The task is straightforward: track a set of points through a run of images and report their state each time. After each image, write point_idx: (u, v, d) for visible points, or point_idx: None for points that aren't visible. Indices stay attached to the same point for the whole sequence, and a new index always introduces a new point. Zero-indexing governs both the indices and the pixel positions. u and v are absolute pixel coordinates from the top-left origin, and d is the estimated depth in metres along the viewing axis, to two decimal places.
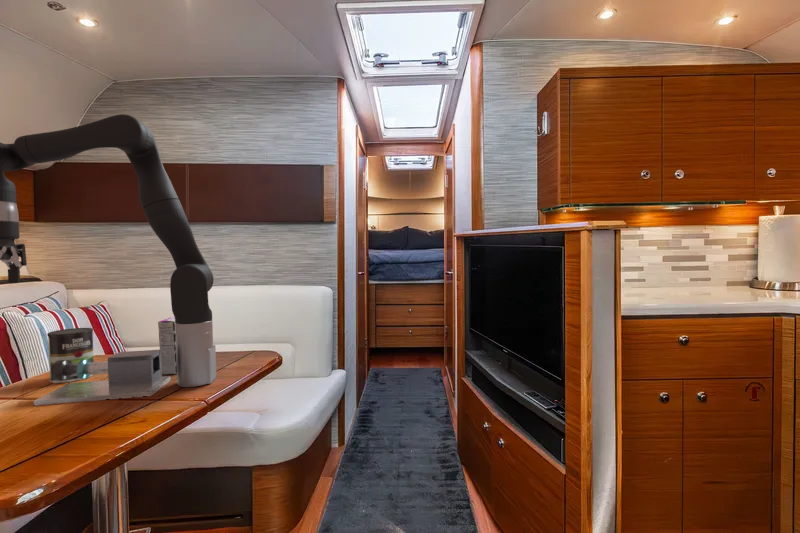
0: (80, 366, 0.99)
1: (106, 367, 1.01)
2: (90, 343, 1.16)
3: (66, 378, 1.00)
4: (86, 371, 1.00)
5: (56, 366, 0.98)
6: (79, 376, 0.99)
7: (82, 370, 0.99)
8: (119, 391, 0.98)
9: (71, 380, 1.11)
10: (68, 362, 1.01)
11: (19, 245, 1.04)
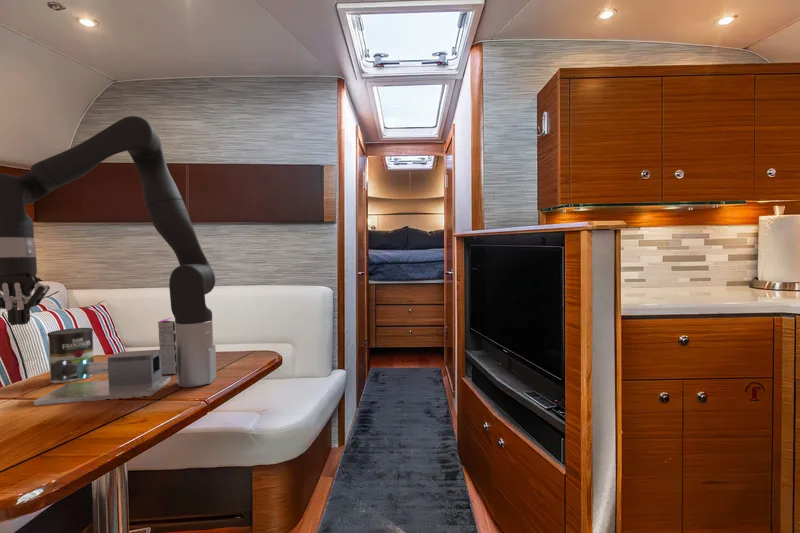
0: (80, 366, 0.99)
1: (106, 367, 1.01)
2: (90, 343, 1.16)
3: (66, 378, 1.00)
4: (86, 371, 1.00)
5: (56, 366, 0.98)
6: (79, 376, 0.99)
7: (82, 370, 0.99)
8: (119, 391, 0.98)
9: (71, 380, 1.11)
10: (68, 362, 1.01)
11: None
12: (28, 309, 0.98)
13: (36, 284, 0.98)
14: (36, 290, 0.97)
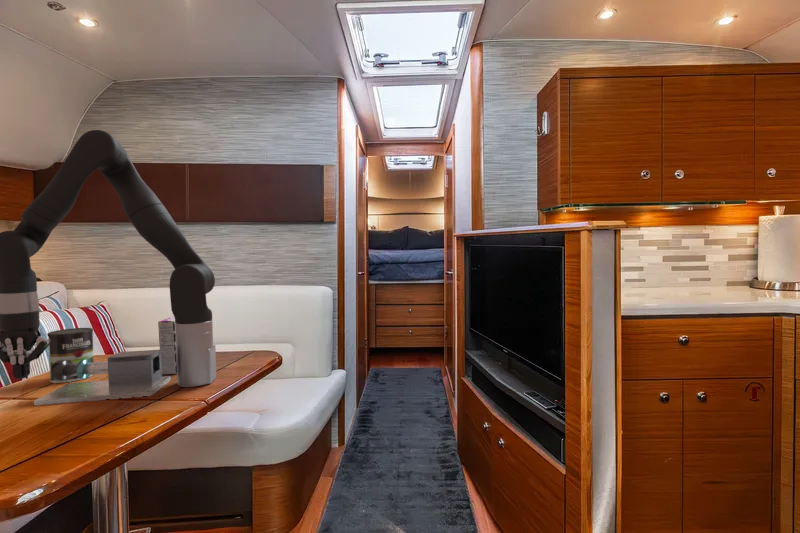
0: (80, 366, 0.99)
1: (106, 367, 1.01)
2: (90, 343, 1.16)
3: (66, 378, 1.00)
4: (86, 371, 1.00)
5: (56, 366, 0.98)
6: (79, 376, 0.99)
7: (82, 370, 0.99)
8: (119, 391, 0.98)
9: (71, 380, 1.11)
10: (68, 362, 1.01)
11: None
12: (28, 363, 0.99)
13: (38, 338, 0.98)
14: (38, 345, 0.98)
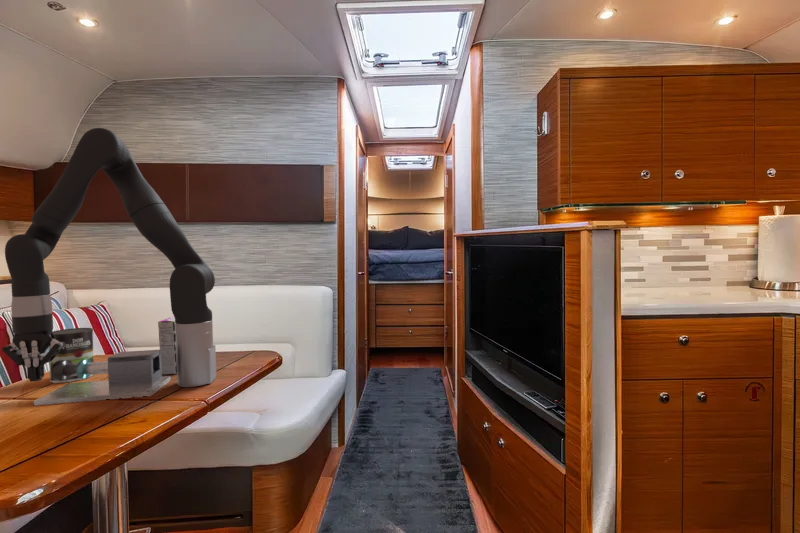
0: (80, 366, 0.99)
1: (106, 367, 1.01)
2: (90, 343, 1.16)
3: (66, 378, 1.00)
4: (86, 371, 1.00)
5: (56, 366, 0.98)
6: (79, 376, 0.99)
7: (82, 370, 0.99)
8: (119, 391, 0.98)
9: (71, 380, 1.11)
10: (68, 362, 1.01)
11: None
12: (42, 365, 0.99)
13: (52, 341, 0.99)
14: (52, 347, 0.98)
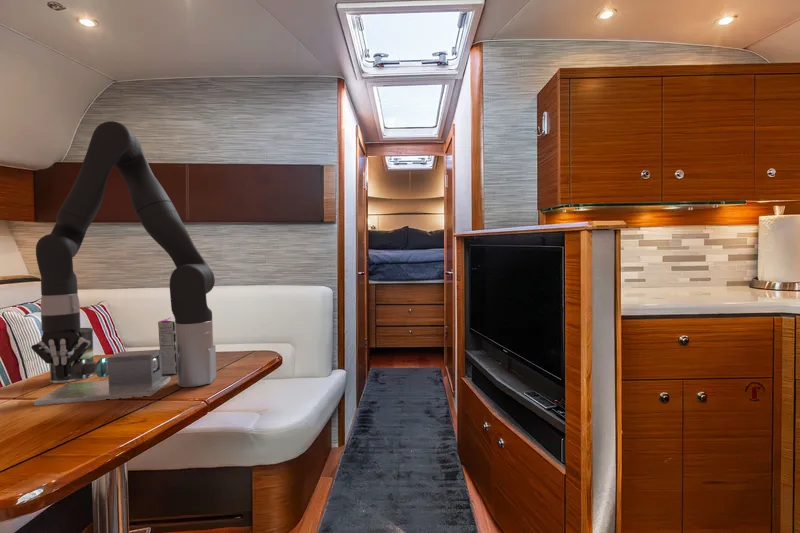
0: (99, 365, 1.00)
1: None
2: None
3: (85, 377, 1.01)
4: (105, 369, 1.00)
5: (76, 365, 0.99)
6: (98, 375, 1.00)
7: (101, 369, 1.00)
8: (119, 391, 0.98)
9: (71, 380, 1.11)
10: (87, 361, 1.02)
11: None
12: (70, 363, 1.00)
13: (80, 339, 1.00)
14: (80, 346, 1.00)
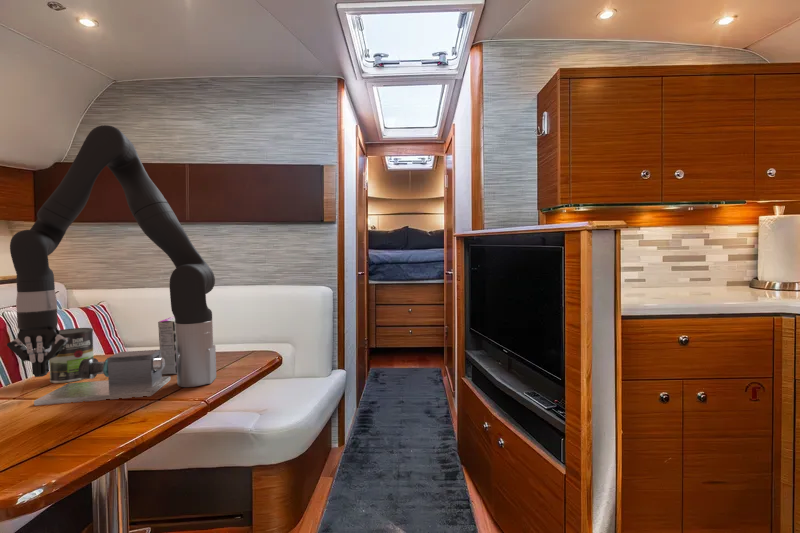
0: (107, 364, 1.00)
1: None
2: (90, 343, 1.16)
3: (92, 376, 1.01)
4: None
5: (83, 364, 0.99)
6: (106, 374, 1.00)
7: None
8: (119, 391, 0.98)
9: (71, 380, 1.11)
10: (94, 360, 1.02)
11: None
12: (47, 361, 0.99)
13: (57, 336, 0.99)
14: (57, 343, 0.99)
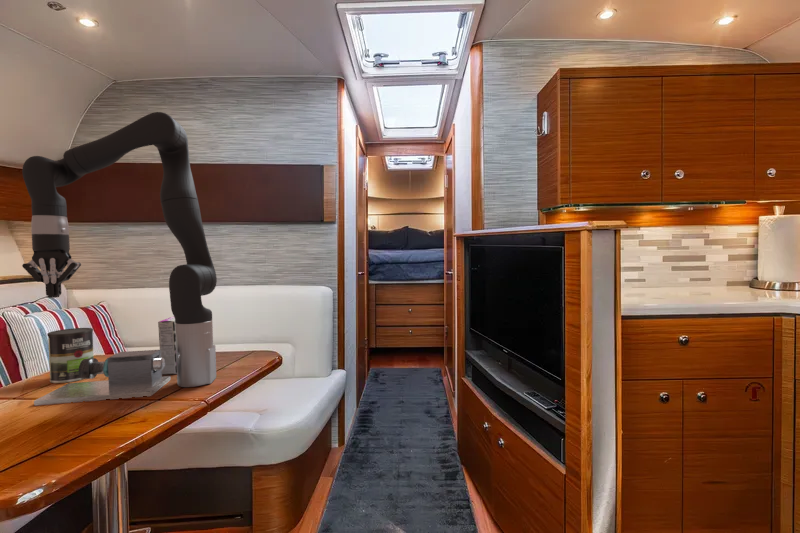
0: (107, 364, 1.00)
1: None
2: (90, 343, 1.16)
3: (92, 376, 1.01)
4: None
5: (83, 364, 0.99)
6: (106, 374, 1.00)
7: None
8: (119, 391, 0.98)
9: (71, 380, 1.11)
10: (94, 360, 1.02)
11: None
12: (60, 283, 1.05)
13: (69, 260, 1.05)
14: (69, 266, 1.04)
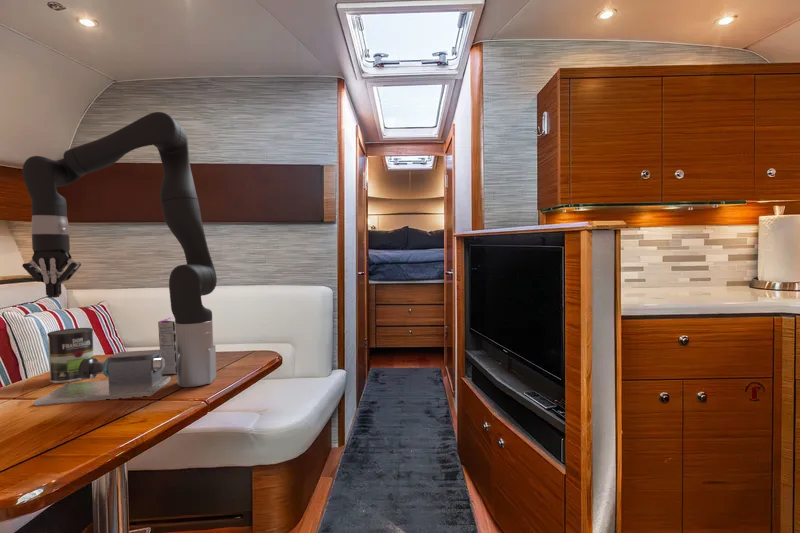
0: (107, 364, 1.00)
1: None
2: (90, 343, 1.16)
3: (92, 376, 1.01)
4: None
5: (83, 364, 0.99)
6: (106, 374, 1.00)
7: None
8: (119, 391, 0.98)
9: (71, 380, 1.11)
10: (94, 360, 1.02)
11: None
12: (60, 283, 1.05)
13: (69, 260, 1.05)
14: (69, 266, 1.04)
